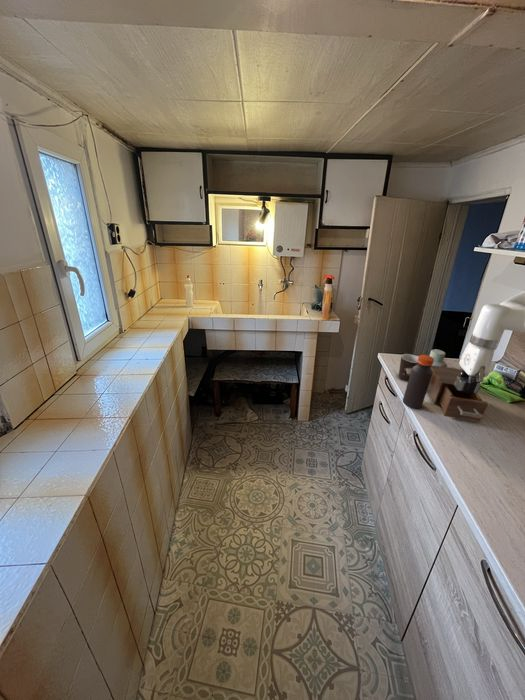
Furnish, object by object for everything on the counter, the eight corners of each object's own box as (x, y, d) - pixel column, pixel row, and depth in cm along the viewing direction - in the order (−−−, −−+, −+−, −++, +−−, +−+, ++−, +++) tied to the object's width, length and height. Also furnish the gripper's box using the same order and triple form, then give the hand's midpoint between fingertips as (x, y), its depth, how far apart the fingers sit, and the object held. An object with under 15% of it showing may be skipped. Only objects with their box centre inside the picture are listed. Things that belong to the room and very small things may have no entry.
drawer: (485, 430, 95) (494, 411, 91) (448, 424, 97) (456, 405, 94) (464, 400, 111) (471, 383, 107) (433, 395, 113) (439, 378, 110)
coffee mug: (392, 377, 127) (397, 357, 123) (400, 371, 133) (406, 352, 128) (419, 388, 120) (425, 367, 115) (426, 381, 125) (433, 361, 121)
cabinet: (470, 409, 107) (479, 388, 103) (434, 403, 110) (441, 382, 105) (456, 389, 120) (464, 369, 116) (424, 384, 122) (430, 365, 118)
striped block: (471, 387, 102) (475, 378, 100) (476, 393, 98) (480, 384, 97) (453, 384, 103) (456, 376, 102) (457, 390, 99) (461, 381, 98)
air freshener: (430, 364, 141) (436, 346, 136) (447, 371, 134) (453, 353, 130) (417, 369, 135) (423, 350, 131) (434, 377, 129) (440, 357, 125)
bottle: (410, 409, 105) (425, 362, 97) (398, 399, 111) (411, 354, 103) (425, 408, 107) (441, 361, 98) (413, 398, 113) (427, 353, 104)
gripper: (461, 331, 101) (445, 375, 109) (482, 350, 86) (462, 399, 94) (485, 334, 100) (467, 378, 107) (510, 353, 85) (487, 403, 92)
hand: (465, 388), depth 100 cm, fingers closed on striped block, 4 cm apart
